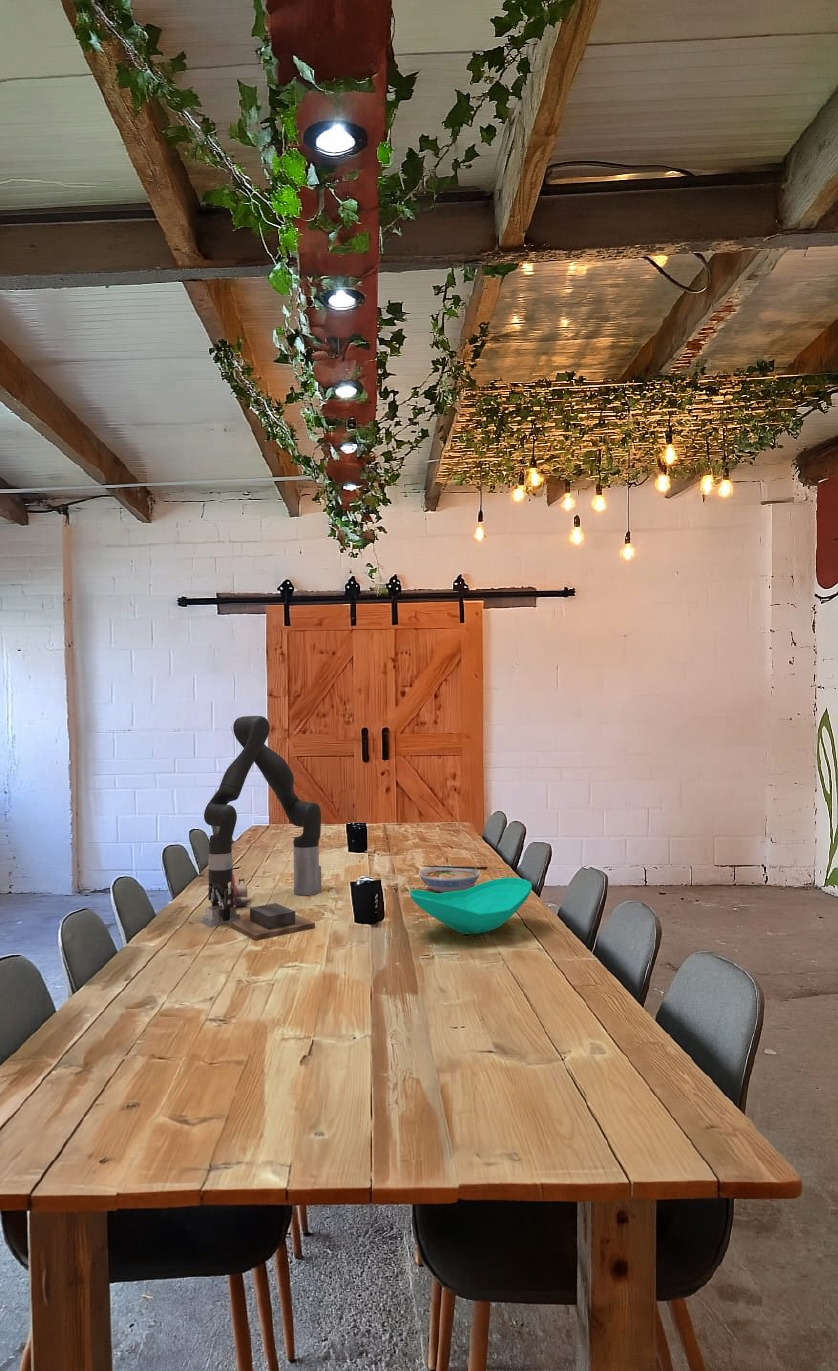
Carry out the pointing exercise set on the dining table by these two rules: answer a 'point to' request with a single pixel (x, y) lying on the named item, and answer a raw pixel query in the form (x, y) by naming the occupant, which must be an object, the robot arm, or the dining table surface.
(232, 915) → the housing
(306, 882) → the robot arm
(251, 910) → the stand
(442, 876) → the ramen bowl
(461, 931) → the table top decor
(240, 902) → the brake caliper
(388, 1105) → the dining table surface
